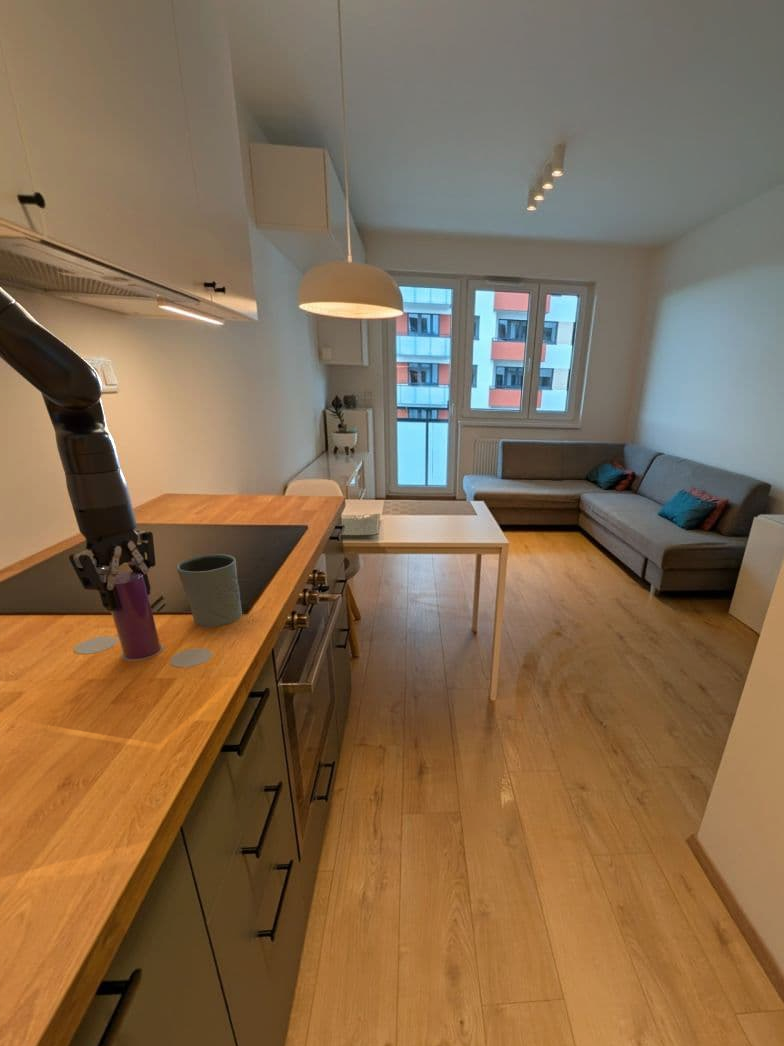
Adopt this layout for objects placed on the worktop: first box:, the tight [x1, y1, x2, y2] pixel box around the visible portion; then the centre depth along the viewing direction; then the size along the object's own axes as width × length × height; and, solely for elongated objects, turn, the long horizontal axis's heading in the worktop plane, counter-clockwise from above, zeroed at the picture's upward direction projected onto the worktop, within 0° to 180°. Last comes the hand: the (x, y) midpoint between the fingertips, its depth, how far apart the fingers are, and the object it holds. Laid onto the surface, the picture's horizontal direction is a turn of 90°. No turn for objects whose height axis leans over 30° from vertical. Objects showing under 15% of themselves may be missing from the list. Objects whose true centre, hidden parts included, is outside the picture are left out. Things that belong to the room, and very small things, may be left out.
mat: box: [73, 635, 213, 669], centre depth 87 cm, size 26×12×1 cm, turn 78°
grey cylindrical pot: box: [176, 553, 243, 628], centre depth 97 cm, size 10×10×12 cm
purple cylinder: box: [110, 600, 156, 635], centre depth 84 cm, size 6×6×4 cm
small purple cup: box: [116, 624, 161, 659], centre depth 86 cm, size 6×6×4 cm
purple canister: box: [104, 571, 150, 610], centre depth 83 cm, size 6×6×4 cm
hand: (129, 602), depth 83 cm, fingers closed on purple canister, 5 cm apart
